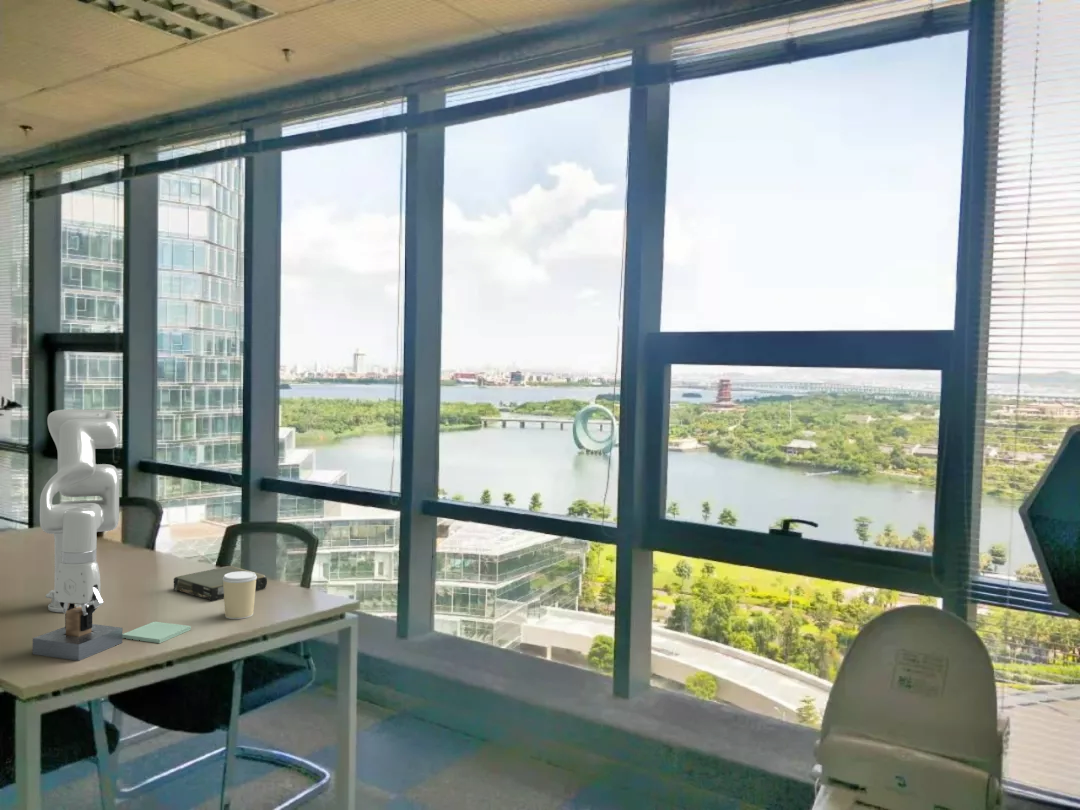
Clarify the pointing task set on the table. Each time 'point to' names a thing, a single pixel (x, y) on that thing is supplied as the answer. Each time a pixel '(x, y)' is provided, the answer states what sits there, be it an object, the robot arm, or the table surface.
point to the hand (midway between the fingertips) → (78, 627)
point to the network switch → (211, 582)
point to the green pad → (156, 632)
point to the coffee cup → (239, 594)
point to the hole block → (77, 642)
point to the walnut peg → (75, 622)
